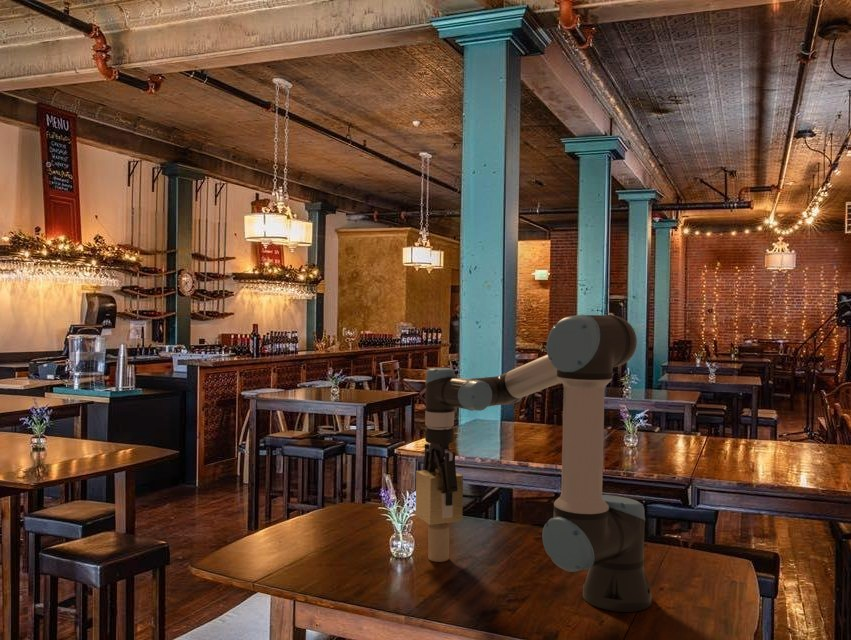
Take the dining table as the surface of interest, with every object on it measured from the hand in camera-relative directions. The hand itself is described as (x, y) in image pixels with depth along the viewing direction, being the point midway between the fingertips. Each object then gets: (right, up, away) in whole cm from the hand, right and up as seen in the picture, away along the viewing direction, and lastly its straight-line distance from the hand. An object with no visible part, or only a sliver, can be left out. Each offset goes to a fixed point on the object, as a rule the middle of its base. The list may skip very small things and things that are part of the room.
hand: (438, 512), depth 194 cm
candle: (0, -12, 0) cm, 12 cm away
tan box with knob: (0, -2, 0) cm, 2 cm away
